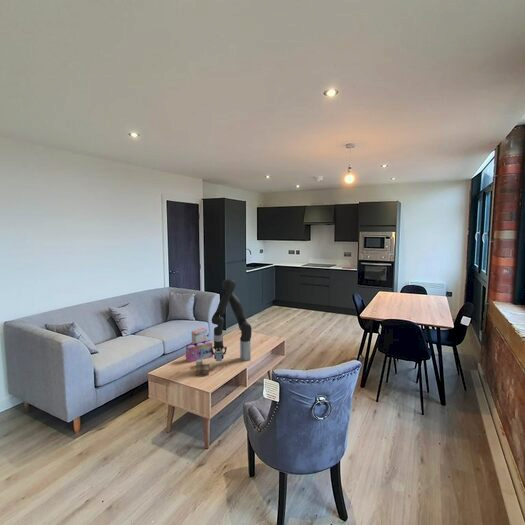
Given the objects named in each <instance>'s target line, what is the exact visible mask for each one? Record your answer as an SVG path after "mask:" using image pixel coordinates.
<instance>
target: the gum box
mask: <svg viewBox="0 0 525 525" xmlns="http://www.w3.org/2000/svg"><path fill="white" fill-rule="evenodd" d="M211 347H214V345H213V341H211V340H210V339H207V341H203V342H198V343H193V344H192V343H190V344H189V343H188V344H186V345H185V359H186V361H187V362H188V363H193V362H196V360H199V359H202V360H205V359H209V358H214V355H212V353H211V349H210V348H211Z"/></svg>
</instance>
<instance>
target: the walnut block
mask: <svg viewBox="0 0 525 525" xmlns="http://www.w3.org/2000/svg"><path fill="white" fill-rule="evenodd" d="M209 375H210V364H209V363H207V364H204V363H203V365H197V367H196V368H195V376H196V377H199V376H201V377H202V376H209Z"/></svg>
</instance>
